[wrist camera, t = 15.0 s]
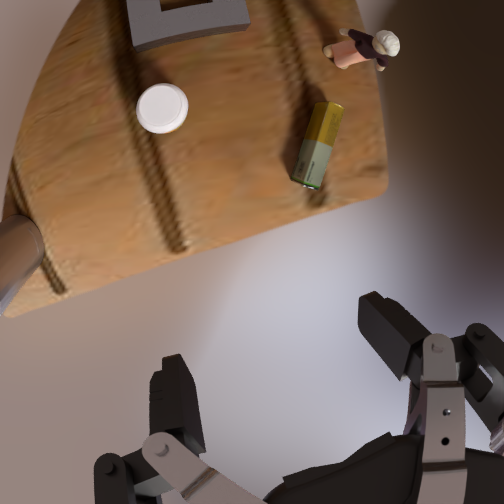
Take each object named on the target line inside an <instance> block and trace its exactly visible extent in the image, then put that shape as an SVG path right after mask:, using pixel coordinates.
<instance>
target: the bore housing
mask: <svg viewBox="0 0 504 504" xmlns="http://www.w3.org/2000/svg"><path fill="white" fill-rule="evenodd" d="M126 1H127V8H128V15H129V22H130V29H131V35H132V41H133V47H134V48H135V50H136V52H137V53H138V52H141V51H145V50H148V49H152V48H155V47H159V46H163V45H167V44H171V43H175V42H179V41H184V40H188V39H193V38H198V37H204V36H210V35H216V34H222V33H230V32H238V31H246V29H247V28H248V26H249V25H250V23H251V22H250V18H249V14H248V10H247V6H246V2H245V0H208V2H209V3H205V4H198V5H192V6H187V7H182V8H177V9H172V10H168V11H164V12H161V7H160V1H159V0H126Z"/></svg>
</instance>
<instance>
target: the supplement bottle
mask: <svg viewBox="0 0 504 504" xmlns="http://www.w3.org/2000/svg"><path fill="white" fill-rule="evenodd" d="M187 112H188V101H187V98H186V95H185V94H184V92H183V91H182V90H181V89H180V88H178V87H177V86H175V85H172V84H167V83H161V84H156V85H153V86H151V87H149V88H148V89H147V90H145V91H144V92H143V94H142V95H141V96H140V98H139V100H138V102H137V107H136V114H137V118H138V120H139V122H140V124H141V125H142V126H143V127H144V128H145V129H147V130H148V131H151V132H153V133H170V132H172V131H175V130H176V129H178V128H179V127H180V126H181V125H182V124H183V123H184V121H185V119H186V116H187Z"/></svg>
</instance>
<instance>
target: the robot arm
mask: <svg viewBox="0 0 504 504" xmlns="http://www.w3.org/2000/svg"><path fill="white" fill-rule="evenodd" d="M43 256H44V243H43V239H42V236H41V234H40V232H39V229H38V228H37V227H36V225H35V224H34V223H33V222H32V221H31V220H30V219H28V218H27V217H25V216H22V215H12V216H10V217H8V218H7V219H5V220H4V221H2V222H1V223H0V316H1V315H2V313H3V312H4V311H5V309H6V308H7V306H8V305H9V304H10V302H11V301H12V300H13V298H14V297H15V296H16V294H17V293H18V292H19V290H20V289H21V288H22V286H23V285H24V284H25V283H26V281H27V280H28V279H29V278H30V276H31V275H32V274H33V273H34V271H35V270H36V269H37V268H38V267H39V265H40V264H41V262H42V260H43ZM358 327H359V330H360V332H361V334H362V335H363V336H364V338H365V339H366V340H367V341H368V342H369V344H370V345H371V346H372V347H373V349H374V350H375V351H376V352H377V353H378V355H379V356H380V357H381V358H382V360H383V361H384V362H385V363H386V364H387V366H388V367H389V368H390V369H391V371H392V372H393V373H394V374H395V376H396V377H397V378H398V380H399V381H402V380H404V379H405V378H407V377H409V378H410V380H411V382H410V389H409V403H408V414H407V421H406V425H405V428H404V431H403V435H397V436H392V435H391V433H390V432H387V433H386V434H384V435H382V436H380V437H378V438H376V439H374V440H372V441H371V442H368V443H366V444H365V445H364V446H363V447H361V448H360V449H359V450H357V451H356V452H355V453H354V454H352V455H351V456H350V457H348V458H347V459H346V460H344V461H343V462H340V463H336V464H330V465H324V466H319V467H311V468H308V469H305V470H302V471H300V472H297V473H294V474H291V475H288V476H284V477H283V480H284V482H283V483H282V484H280V485H278V486H277V487H275V488H274V489H273V490H272V491H270V492H269V493H268V494H267V495H266V496H265V498H264V499H263V500H261V499H259V498H257V497H256V496H254V495H252V494H251V493H249V492H248V491H246V490H244V489H243V488H241V487H240V486H238V485H237V484H235V483H234V482H232V481H231V480H230V479H228V478H227V477H225V476H224V475H222V474H221V473H220V472H218V471H217V470H215V469H213V468H211V467H209V466H208V465H207V464H206V463H205V462H203V461H202V460H201V459H199V454H200V453H205V452H206V448H205V443H204V437H203V432H202V425H201V419H200V412H199V406H198V399H197V392H196V386H195V382H194V379H193V377H192V375H191V373H190V371H189V369H188V367H187V366H186V364H185V362H184V360H183V358H182V356H181V355H180V354H175V355H171V356H167V357H163V358H162V370H161V371H156V372H154V374H153V376H152V378H151V380H150V396H149V397H150V398H149V401H150V404H149V411H150V412H149V418H150V419H149V421H150V434H149V437H148V438H147V439H146V440H145V442H144V443H143V446H142V448H141V449H139V450H137V451H135V452H133V453H130V454H128V455H126V456H123V457H120V456H119V455H117V454H114V453H106V454H103V455H102V456H100V457H99V458H98V459H97V461H96V462H95V465H94V494H95V504H162V499H161V494H162V493H165V492H168V491H170V490H172V489H176V490H177V491H178V492H179V493H180V494H181V495H182V497H183V498H184V499H185V500H186V501H187V502H188V503H189V504H504V342H503V341H502V340H501V339H500V338H499V337H498V336H497V335H496V334H495V333H494V332H492V331H491V330H490V329H489V328H488V327H487V326H486V325H484V324H481V323H473V324H471V325H469V326H468V328H467V329H466V332H465V335H461V336H458V337H454V338H449V337H447V336H446V335H443V334H437V333H436V334H432V333H430V332H429V331H428V330H427V329H426V328H425V327H424V326H423V325H422V324H421V323H420V322H419V321H418V320H417V319H416V318H414V316H412V315H410V313H409V312H408V311H407V310H405V308H404V307H403V306H401V305H400V304H399V303H398V302H397V301H394V300H392V299H390V298H388V297H387V298H385V299H384V298H383V297H382V296H381V295H380V294H379V293H378V292H376V291H373V292H370V293H368V294H366V295H363V296H361V297H360V298H359V306H358ZM479 365H481V366H482V367H483V368H484V369H485V370H486V372H487V373H488V374H489V375H490V376H491V377H492V380H493V383H492V382H491V381H490V380H489V379H488V378H487V376H486V375H485V374H484V373H483V372H482V371H481V369H480V368H479ZM465 398H466V400H467V401H468V402H469V404H470V405H471V406H472V408H473V409H474V410H475V412H476V413H477V414H478V416H479V417H480V418H481V420H482V421H483V423H484V424H485V425H486V426H487V428H488V430H489V431H490V432H491V436H490V439H491V442H490V445H489V446H490V449H491V450H493V451H494V453H492V452H486V451H481V450H476V449H471V448H466V447H465Z"/></svg>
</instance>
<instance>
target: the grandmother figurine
mask: <svg viewBox="0 0 504 504" xmlns="http://www.w3.org/2000/svg"><path fill="white" fill-rule="evenodd" d="M339 33H340V34H341V35H346V36H349V37H351V38H352V39H353V40H350V41H343V42H339V43H337V44H331V45H328V46H326V47H324V49H323V52H324V54H325V55H326V56H327V57H328V58H333V57H334V62H335V64H336V65H337V66H338V67H339V68H341V69H346V68H347V67H348V65H350V64H353V63H357V62H361V61H365V60H370V59H373V58H376V59H377V62H378V65H377V70H379V71H383V70H384V68H385V67H387V66H388V59H387V56H386V54H388V55H390V56H395V55H396V54H397V53H398V51H399V49H400V44H399V39H398V38H397V37H396V36H395V35H394V34H393V33H392V32H390V31H386V30H382V31H380V32H378V33H377V34H376V36H375V37H372V36H371V35H368V34H365V33H363V32H360V31H357V30H354V29H344V28H341V29H340V30H339Z"/></svg>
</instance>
